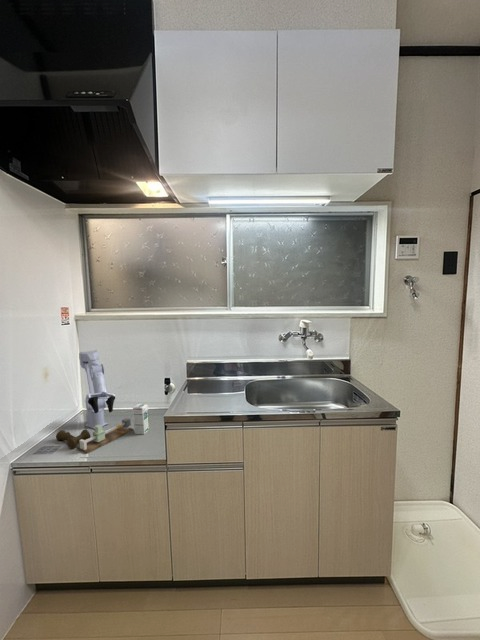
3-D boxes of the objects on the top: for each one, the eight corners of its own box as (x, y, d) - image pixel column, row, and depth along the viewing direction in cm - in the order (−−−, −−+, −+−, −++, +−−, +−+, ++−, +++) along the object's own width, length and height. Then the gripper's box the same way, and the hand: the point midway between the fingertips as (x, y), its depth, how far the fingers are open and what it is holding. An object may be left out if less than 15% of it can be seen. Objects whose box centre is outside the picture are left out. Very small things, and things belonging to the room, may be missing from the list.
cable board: (86, 453, 146) (86, 451, 146) (76, 449, 150) (76, 447, 150) (133, 430, 169) (133, 428, 169) (123, 427, 173) (123, 425, 173)
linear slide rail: (84, 450, 147) (83, 440, 147) (80, 448, 149) (79, 438, 149) (131, 427, 170) (130, 419, 170) (126, 426, 172) (126, 417, 172)
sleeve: (98, 442, 153) (97, 428, 152) (93, 440, 155) (92, 426, 154) (105, 438, 157) (104, 425, 156) (100, 437, 159) (99, 423, 158)
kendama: (69, 436, 165) (96, 442, 157) (51, 445, 156) (79, 452, 148) (67, 425, 164) (95, 431, 156) (50, 434, 156) (78, 440, 147)
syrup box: (144, 434, 164) (143, 407, 163) (134, 433, 165) (132, 407, 164) (149, 429, 170) (148, 403, 168) (139, 428, 171) (138, 403, 169)
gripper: (90, 382, 153) (94, 409, 147) (116, 383, 164) (121, 407, 158) (82, 389, 156) (86, 415, 150) (108, 389, 167) (113, 413, 161)
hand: (104, 412), depth 154 cm, fingers open, 7 cm apart
